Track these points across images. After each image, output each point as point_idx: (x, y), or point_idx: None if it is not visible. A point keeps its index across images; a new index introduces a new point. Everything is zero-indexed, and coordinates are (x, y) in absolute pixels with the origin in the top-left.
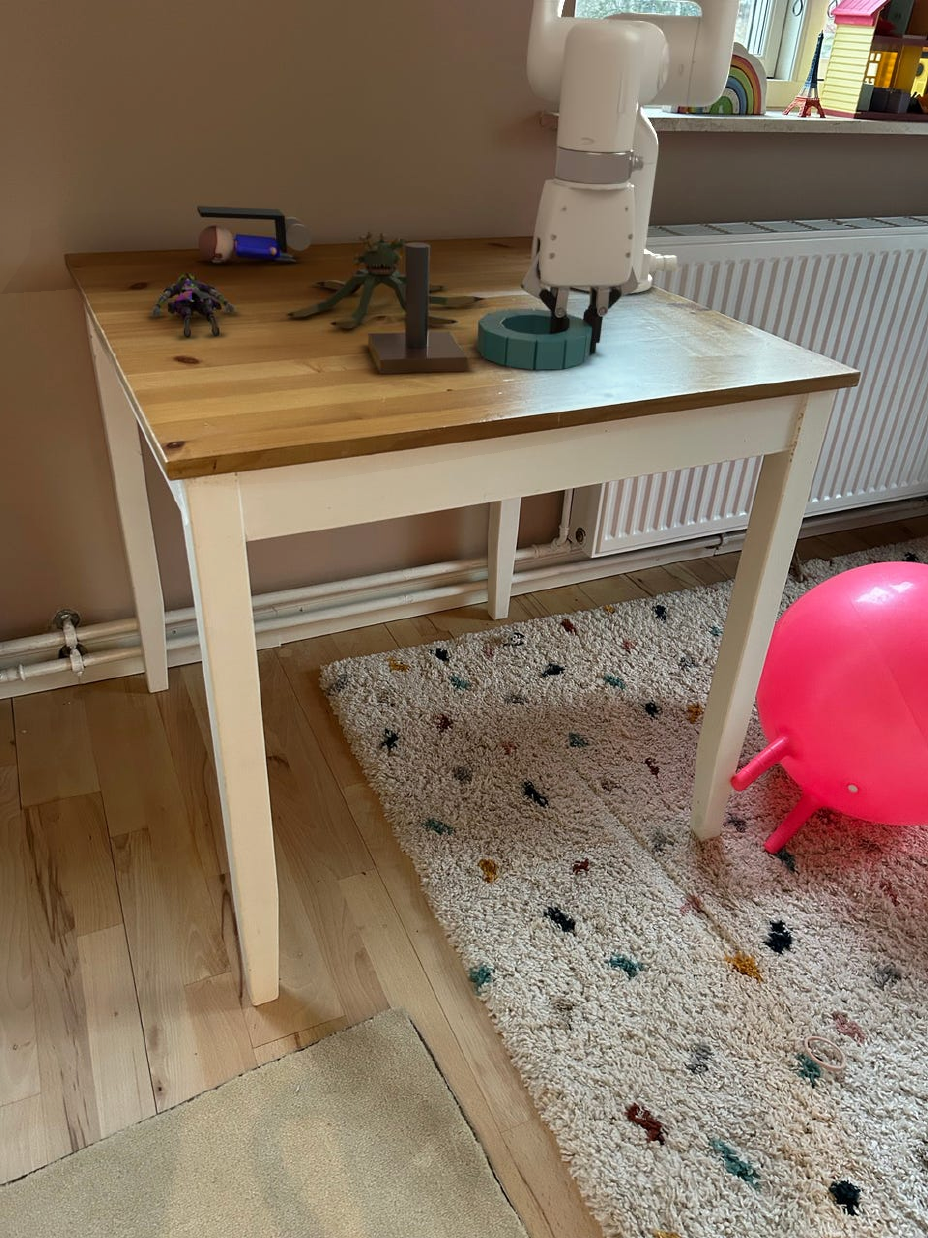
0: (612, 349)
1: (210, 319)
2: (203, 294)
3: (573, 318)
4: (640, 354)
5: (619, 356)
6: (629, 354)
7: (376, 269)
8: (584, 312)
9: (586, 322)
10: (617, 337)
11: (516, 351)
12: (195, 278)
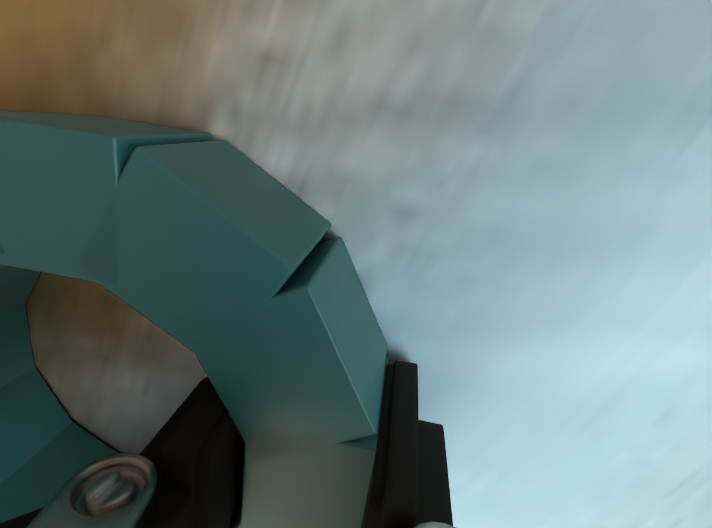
0: (515, 424)
1: None
2: None
3: (319, 424)
4: (594, 507)
5: (486, 498)
6: (546, 493)
7: None
8: (370, 496)
9: (362, 505)
10: (678, 277)
11: None
12: None
